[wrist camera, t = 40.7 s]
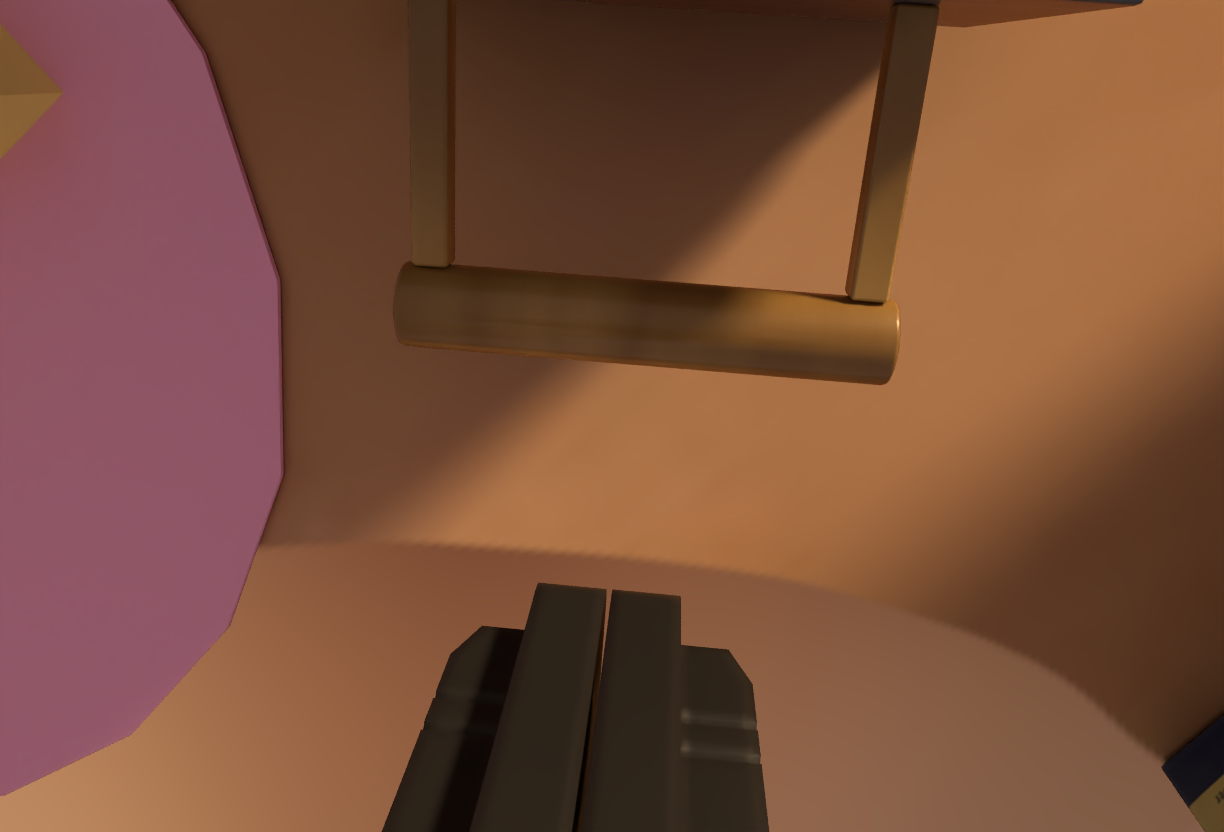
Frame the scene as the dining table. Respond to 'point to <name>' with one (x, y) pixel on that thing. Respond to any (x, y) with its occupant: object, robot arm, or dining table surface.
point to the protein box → (1202, 776)
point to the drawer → (672, 311)
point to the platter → (122, 373)
